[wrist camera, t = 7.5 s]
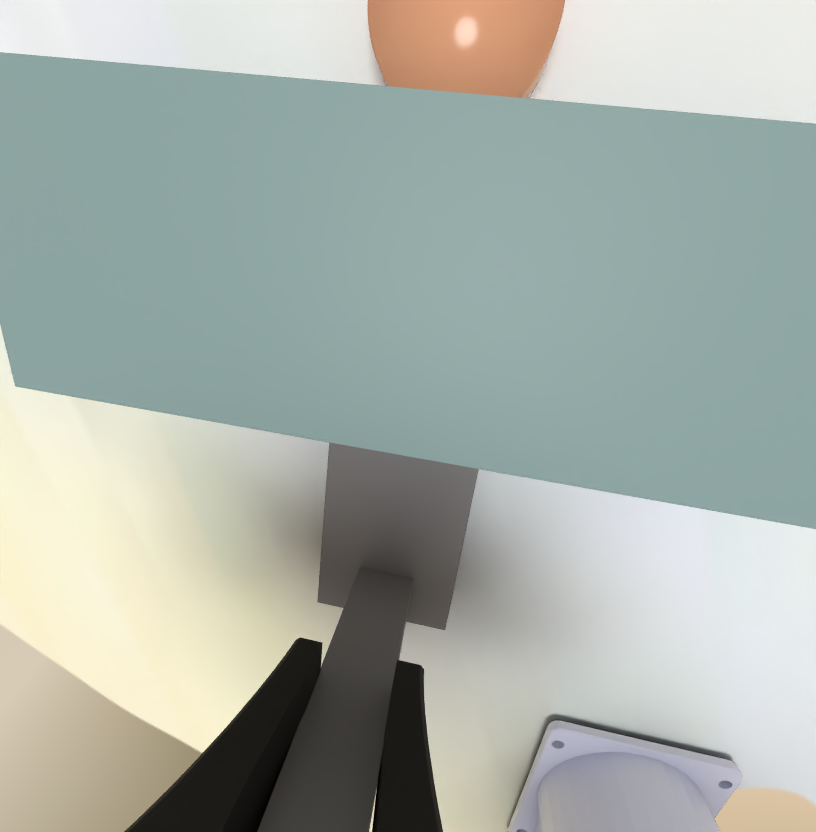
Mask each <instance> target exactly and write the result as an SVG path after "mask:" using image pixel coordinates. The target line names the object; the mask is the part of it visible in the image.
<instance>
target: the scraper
mask: <svg viewBox="0 0 816 832" xmlns="http://www.w3.org/2000/svg"><path fill="white" fill-rule="evenodd" d="M477 473H478V469H476V468H471V467H465V466H459V465H454V464H448V463H443V462H437V461H431V460H426V459H420V458H415V457H409V456H403V455H398V454H392V453H386V452H381V451H375V450H370V449H364V448H358V447H353V446H347V445H342V444H336V443H330V442H329V456H328V469H327V482H326V496H325V509H324V522H323V535H322V549H321V562H320V575H319V589H318V602H319V603H324V604H329V605H333V606H338V607H342V608H344V609H343V612H342V614H341V617H340V620H339V622H338V625H337V627H336V630H335V633H334V635H333V638H332V640H331V643H330V645H329V648H328V651H327V653H326V656H325V658H324V661H323V663H322V666H321V671H320V674H319V677H318V679H317V682H316V684H315V687H314V690H313V692H312V695H311V697H310V700H309V703H308V705H307V708H306V710H305V713H304V715H303V717H302V719H301V721H300V723H299V725H298V728H297V730H296V733H295V736H294V738H293V741H292V743H291V746H290V749H289V751H288V754H287V756H286V759H285V761H284V764H283V767H282V769H281V772H280V774H279V777H278V779H277V782H276V785H275V787H274V790H273V792H272V795H271V797H270V800H269V803H268V805H267V808H266V810H265V813H264V816H263V818H262V821H261V823H260V826H259V828H258V831H257V832H369V829H370V823H371V817H372V812H373V806H374V800H375V795H376V789H377V782H378V776H379V770H380V764H381V757H382V751H383V745H384V734H385V727H386V720H387V714H388V708H389V702H390V696H391V690H392V684H393V679H394V674H395V668H396V663H397V660H399V658H400V652H401V647H402V641H403V635H404V629H405V624H406V622H411V623H415V624H420V625H424V626H429V627H434V628H438V629H443V630H445V628H446V623H447V618H448V613H449V608H450V604H451V599H452V594H453V589H454V584H455V579H456V575H457V570H458V565H459V560H460V555H461V551H462V546H463V541H464V536H465V531H466V526H467V522H468V517H469V512H470V507H471V502H472V497H473V493H474V488H475V483H476V478H477Z"/></svg>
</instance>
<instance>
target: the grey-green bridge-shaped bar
mask: <svg viewBox="0 0 816 832" xmlns="http://www.w3.org/2000/svg"><path fill="white" fill-rule="evenodd" d="M0 325H1V329H2V333H3V337H4V342H5V346H6V350H7V354H8V358H9V362H10V366H11V370H12V375H13V379H14V383H15V386H16V387H22V388H27V389H33V390H39V391H44V392H50V393H55V394H61V395H67V396H72V397H78V398H83V399H89V400H95V401H100V402H106V403H111V404H117V405H123V406H128V407H134V408H140V409H145V410H151V411H156V412H162V413H168V414H173V415H179V416H184V417H190V418H196V419H201V420H207V421H213V422H218V423H224V424H229V425H235V426H241V427H246V428H252V429H257V430H263V431H269V432H274V433H280V434H285V435H291V436H297V437H302V438H308V439H314V440H319V441H325V442H330V443H336V444H342V445H347V446H353V447H358V448H364V449H370V450H375V451H381V452H386V453H392V454H398V455H403V456H409V457H415V458H420V459H426V460H431V461H437V462H443V463H448V464H454V465H459V466H465V467H471V468H476V469H482V470H488V471H493V472H499V473H504V474H510V475H516V476H521V477H527V478H532V479H538V480H544V481H549V482H555V483H560V484H566V485H572V486H577V487H583V488H589V489H594V490H600V491H605V492H611V493H617V494H622V495H628V496H633V497H639V498H645V499H650V500H656V501H662V502H667V503H673V504H678V505H684V506H690V507H695V508H701V509H706V510H712V511H718V512H723V513H729V514H734V515H740V516H746V517H751V518H757V519H763V520H768V521H774V522H779V523H785V524H791V525H796V526H802V527H807V528H813V529H816V124H813V123H801V122H790V121H778V120H767V119H755V118H744V117H733V116H721V115H710V114H698V113H687V112H675V111H664V110H653V109H641V108H630V107H618V106H607V105H596V104H584V103H573V102H561V101H550V100H539V99H527V98H516V97H504V96H493V95H481V94H470V93H459V92H447V91H436V90H424V89H413V88H402V87H390V86H379V85H367V84H356V83H344V82H333V81H322V80H310V79H299V78H287V77H276V76H265V75H253V74H242V73H230V72H219V71H207V70H196V69H185V68H173V67H162V66H150V65H139V64H128V63H116V62H105V61H93V60H82V59H70V58H59V57H48V56H36V55H25V54H13V53H2V52H0Z"/></svg>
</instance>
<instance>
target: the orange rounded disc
mask: <svg viewBox="0 0 816 832" xmlns="http://www.w3.org/2000/svg"><path fill="white" fill-rule="evenodd" d="M564 3H565V0H368V25H369V32H370V38H371V43H372V46H373V50H374V53H375V57H376V59H377V62H378V64H379V67H380V69H381V72H382V74H383V77H384V79H385V82H386V84H387V86H390V87H402V88H413V89H424V90H436V91H447V92H459V93H470V94H481V95H493V96H504V97H516V98H527V99H528V98H529V96H530V95H531V93H532V92H533V90H534V89H535V87H536V85H537V83H538V81H539V79H540V77H541V74H542V72H543V69H544V67H545V64H546V61H547V58H548V56H549V53H550V50H551V47H552V45H553V42H554V39H555V36H556V34H557V31H558V28H559V24H560V21H561V17H562V13H563V8H564Z"/></svg>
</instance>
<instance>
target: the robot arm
mask: <svg viewBox="0 0 816 832" xmlns="http://www.w3.org/2000/svg"><path fill="white" fill-rule="evenodd" d="M321 655H322V643H321V642H317V641H313V640H308V639H304V638H299V639H297V640H296V641H295V642H294V643H293V645H292V646H291V648H290V649H289V651H288V652H287V653H286V655H285V656H284V657H283V659H282V660H281V661H280V663H279V664H278V665H277V667H276V668H275V669H274V671H273V672H272V673H271V674H270V676H269V677H268V678H267V679H266V681H265V682H264V683H263V684H262V686H261V687H260V688H259V689H258V691H257V692H256V693H255V694H254V695H253V697H252V698H251V699H250V700H249V701H248V703H247V704H246V705H245V706H244V707H243V708H242V710H241V711H240V712H239V713H238V714H237V715H236V717H235V718H234V719H233V720H232V721H231V723H230V724H229V725H228V726H227V727H226V728H225V729H224V730H223V732H222V733H221V734H220V735H219V736H218V737H217V738H216V739H215V740H214V741H213V742H212V743H211V745H210V746H209V747H208V748H207V749H206V750H205V751H204V752H203V753H202V754H201V755H200V757H199V758H198V759H197V760H196V761H195V762H194V763H193V764H192V765H191V767H189V769H187V771H185V773H184V774H183V775H182V776H181V777H180V778H179V779H178V780H177V781H176V782H175V783H174V784H173V785H172V786H171V787H170V788H169V789H168V790H167V791H166V792H165V793H164V794H163V795H162V796H161V797H160V798H159V799H158V800H157V801H156V802H155V803H154V804H153V805H152V806H151V807H150V808H149V809H148V810H147V811H146V812H145V813H144V814H143V815H142V816H140V817H139V818H138V819H137V821H135V822H134V823H133V824H132V825H131V826H130V827H129V828H128V829H127V830H126V831H125V832H257V831H258V828H259V826H260V823H261V821H262V818H263V816H264V813H265V810H266V808H267V805H268V803H269V800H270V797H271V795H272V792H273V790H274V787H275V785H276V782H277V779H278V777H279V774H280V772H281V769H282V767H283V764H284V761H285V759H286V756H287V754H288V751H289V749H290V746H291V743H292V741H293V738H294V736H295V733H296V730H297V728H298V725H299V723H300V721H301V719H302V717H303V715H304V713H305V710H306V708H307V705H308V703H309V700H310V697H311V695H312V692H313V690H314V687H315V684H316V682H317V679H318V677H319V674H320V671H321ZM742 778H743V775H742V773H741V771H740V769H739V767H738V766H737V764H736V763H734V762H732V761H730V760H726V759H722V758H718V757H714V756H709V755H705V754H701V753H697V752H692V751H688V750H684V749H680V748H675V747H671V746H667V745H662V744H658V743H654V742H650V741H645V740H641V739H637V738H633V737H628V736H624V735H620V734H616V733H611V732H607V731H603V730H598V729H594V728H590V727H586V726H581V725H577V724H573V723H569V722H564V721H558V720H557V721H553V722H551V723H550V724H549V725H548V727H547V729H546V732H545V734H544V737H543V739H542V742H541V745H540V747H539V750H538V752H537V755H536V757H535V760H534V763H533V765H532V768H531V770H530V773H529V775H528V778H527V781H526V783H525V786H524V788H523V791H522V793H521V796H520V799H519V801H518V804H517V806H516V809H515V811H514V814H513V817H512V819H511V822H510V824H509V827H508V829H507V832H720V830H719V827H718V825H717V823H716V821H715V819H714V818H715V817H716V815H717V814H718V813H719V811H720V810H721V809H722V807H723V806H724V804H725V803H726V802H727V800H728V799H729V797H730V796H731V795H732V793H733V792H734V790H735V789H736V788H737V786H738V785H739V783H740V782H741V781H742ZM372 832H443V830H442V824H441V819H440V814H439V809H438V803H437V797H436V791H435V786H434V779H433V772H432V766H431V759H430V752H429V745H428V737H427V727H426V717H425V704H424V669H423V668H422V666H421V665H417V664H413V663H409V662H404V661H400V660H397V663H396V668H395V674H394V679H393V684H392V690H391V696H390V702H389V708H388V714H387V720H386V727H385V734H384V745H383V751H382V757H381V764H380V770H379V776H378V782H377V792H376V801H375V810H374V819H373V829H372Z"/></svg>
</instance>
